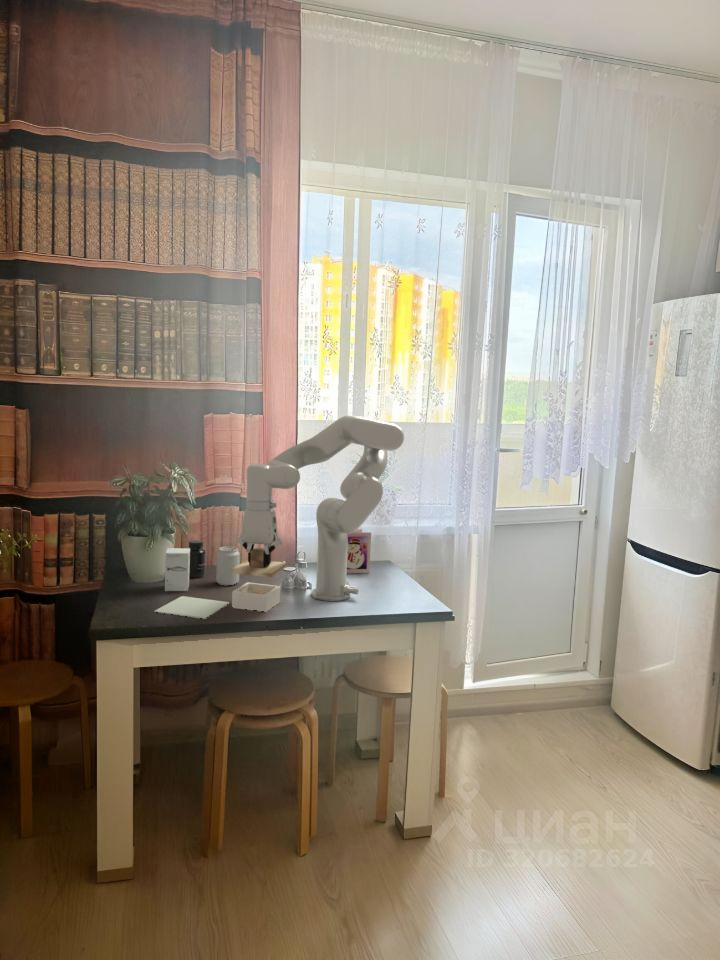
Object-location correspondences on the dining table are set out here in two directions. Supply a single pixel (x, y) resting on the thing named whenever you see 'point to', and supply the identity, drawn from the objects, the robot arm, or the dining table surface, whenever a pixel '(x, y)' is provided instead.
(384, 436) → the robot arm
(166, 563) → the supplement box
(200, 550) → the supplement bottle
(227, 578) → the can
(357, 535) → the greeting card
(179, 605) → the mat
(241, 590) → the dish
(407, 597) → the dining table surface
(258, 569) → the lid
